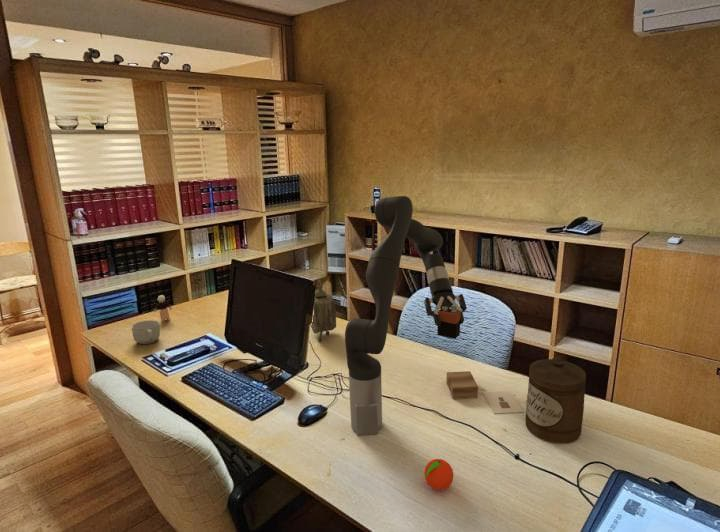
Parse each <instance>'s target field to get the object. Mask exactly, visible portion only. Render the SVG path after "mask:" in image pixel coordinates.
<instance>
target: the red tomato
mask: <svg viewBox="0 0 720 532" xmlns="http://www.w3.org/2000/svg"><path fill="white" fill-rule="evenodd" d="M423 474H424V479H425V481H426V483H427V485H428V486H429V487H430V488H431V489H434V490H436V491H443V490H446V489H448V488H449V487H450V486H451V485H452V483H453V480H454V470H453V468H452V466H451V464H450V463H448V462H447V461H446V460H445V459H442V458H435V459H434V458H433V459H432V460H429V462H428V463H427V464H426V466H425V468H424V473H423Z"/></svg>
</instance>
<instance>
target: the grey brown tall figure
mask: <svg viewBox="0 0 720 532" xmlns="http://www.w3.org/2000/svg"><path fill="white" fill-rule="evenodd" d="M316 284H317V289H316V290H315V291H314V293H315V302H314V315H313V322H312V325H311V326H310V328H311V330H312V332H313V333H314V334H316V333H319V337H318V338H317V341H318V342H321V341H322V334H323V333H324V332H325V335H328V336H329V335H330V331H333V330H334V329H336V328H337V312H336V302H335V300H334V298H333V297H332V296H331V294H330V293H327V292H326V291H325V290H324V289H322V288H323V286H322V281H321V280H320V279H319V278H317V279H316Z"/></svg>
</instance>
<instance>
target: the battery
mask: <svg viewBox="0 0 720 532" xmlns="http://www.w3.org/2000/svg"><path fill="white" fill-rule="evenodd" d="M438 314H439V318H440V322H441V325H440V327H437V336H441V337H444V338H448V339H453V340H456V339H457V338H458V337H459V336H460V335H461V324H460V316H461V311H459V310H456V309H451V308H448V307H446V306H443V307H442V308H441V309H439V311H438Z"/></svg>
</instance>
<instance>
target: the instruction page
mask: <svg viewBox="0 0 720 532" xmlns="http://www.w3.org/2000/svg"><path fill="white" fill-rule="evenodd" d="M482 394H483V396H484V397H485V399H486V402H487V404H488V405H489V407H490V409H491V411H492V413H493V415H495V414H498V415H499V414H516V413H517V414H518V413H524V410H523V408H522V407H521V405H520V404H519V402H518V401H517V399H516V398H515V396H514V394H513V393H512V391H511V390H498V391H497V390H496V391H483V392H482Z"/></svg>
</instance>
